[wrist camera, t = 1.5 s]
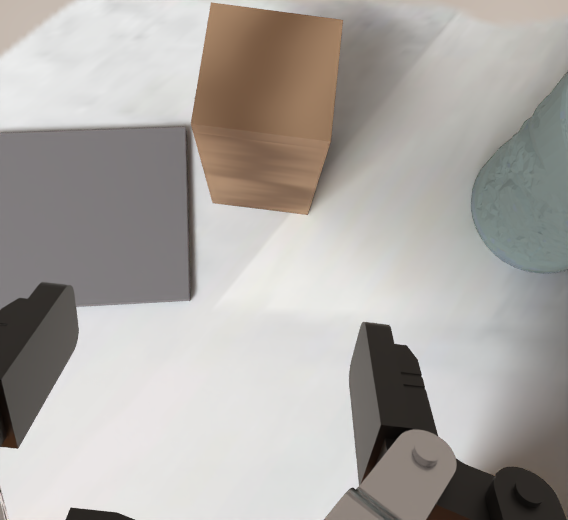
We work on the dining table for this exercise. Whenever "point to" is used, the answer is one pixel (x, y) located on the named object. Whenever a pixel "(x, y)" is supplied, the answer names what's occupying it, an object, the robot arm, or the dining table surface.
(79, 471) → the dining table surface
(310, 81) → the brown wooden block
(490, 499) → the robot arm
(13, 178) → the charcoal mat
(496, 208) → the embossed blue-grey cup
